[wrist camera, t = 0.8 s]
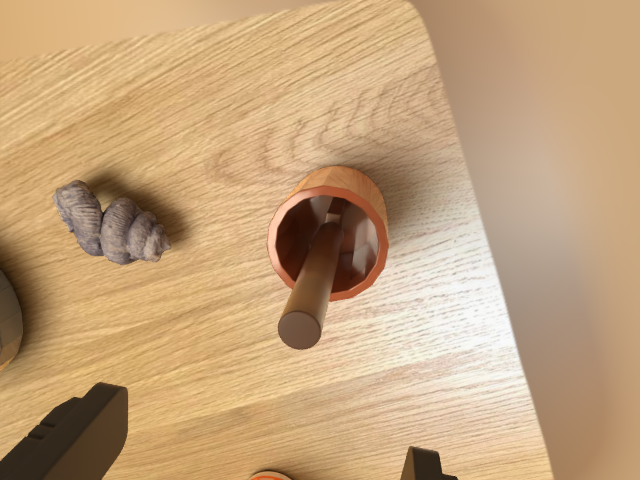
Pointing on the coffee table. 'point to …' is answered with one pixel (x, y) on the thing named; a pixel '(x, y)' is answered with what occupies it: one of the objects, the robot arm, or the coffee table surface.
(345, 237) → the crock
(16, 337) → the bowl
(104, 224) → the seashell
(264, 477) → the pill bottle
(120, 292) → the coffee table surface
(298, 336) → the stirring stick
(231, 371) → the coffee table surface
